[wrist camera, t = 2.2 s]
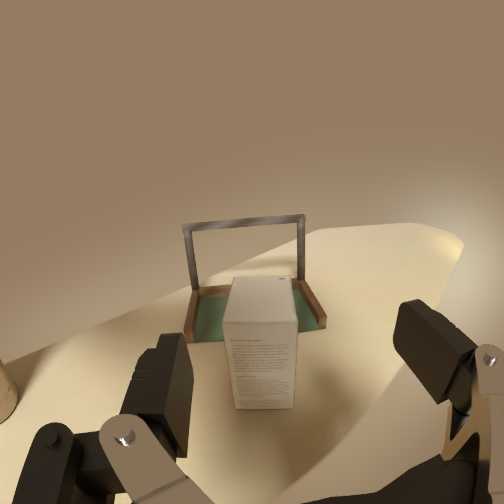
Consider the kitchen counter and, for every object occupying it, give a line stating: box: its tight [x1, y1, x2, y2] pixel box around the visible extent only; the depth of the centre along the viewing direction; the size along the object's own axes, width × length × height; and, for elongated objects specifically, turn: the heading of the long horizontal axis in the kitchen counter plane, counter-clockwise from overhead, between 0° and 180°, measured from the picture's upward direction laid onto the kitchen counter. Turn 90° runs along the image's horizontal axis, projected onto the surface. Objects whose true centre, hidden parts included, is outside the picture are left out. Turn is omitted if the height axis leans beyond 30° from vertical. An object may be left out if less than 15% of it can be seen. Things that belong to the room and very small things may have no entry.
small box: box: [222, 275, 298, 409], centre depth 25 cm, size 8×6×10 cm
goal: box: [182, 214, 327, 343], centre depth 37 cm, size 18×12×12 cm, turn 95°
